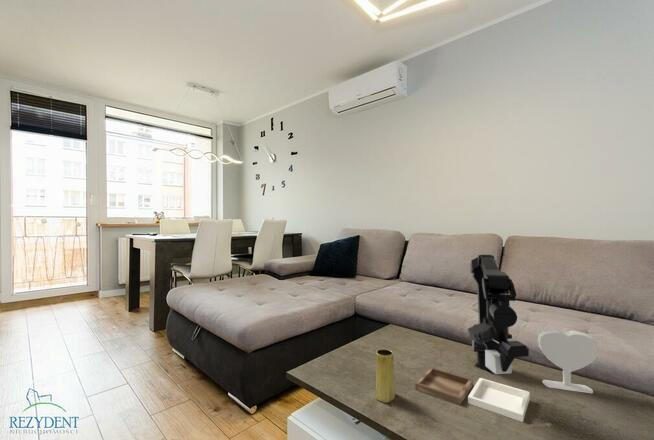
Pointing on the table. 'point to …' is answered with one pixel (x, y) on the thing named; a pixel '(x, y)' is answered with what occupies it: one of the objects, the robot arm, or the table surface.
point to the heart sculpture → (567, 355)
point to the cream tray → (500, 399)
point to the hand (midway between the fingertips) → (498, 367)
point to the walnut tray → (444, 385)
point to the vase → (384, 375)
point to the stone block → (495, 362)
